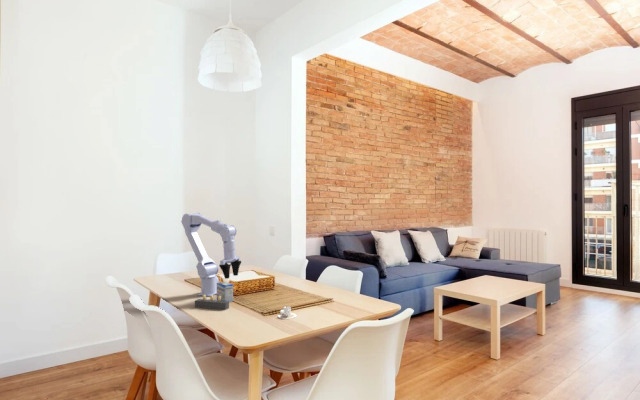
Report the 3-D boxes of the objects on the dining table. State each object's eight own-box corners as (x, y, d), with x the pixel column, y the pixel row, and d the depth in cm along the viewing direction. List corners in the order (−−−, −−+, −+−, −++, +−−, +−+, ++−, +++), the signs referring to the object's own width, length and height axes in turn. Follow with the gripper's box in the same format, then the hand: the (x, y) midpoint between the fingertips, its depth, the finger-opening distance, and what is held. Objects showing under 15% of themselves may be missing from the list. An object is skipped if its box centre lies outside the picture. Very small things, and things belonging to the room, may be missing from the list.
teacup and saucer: (279, 313, 169) (279, 304, 169) (297, 313, 168) (297, 304, 168) (276, 319, 160) (276, 310, 160) (295, 319, 160) (295, 310, 160)
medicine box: (216, 300, 189) (216, 282, 189) (224, 298, 192) (224, 281, 192) (225, 303, 184) (225, 285, 183) (233, 301, 187) (233, 283, 187)
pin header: (198, 305, 181) (198, 293, 180) (229, 307, 176) (228, 295, 176) (194, 307, 178) (194, 295, 178) (225, 309, 173) (225, 297, 173)
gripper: (227, 251, 185) (229, 279, 185) (244, 247, 199) (246, 274, 199) (215, 252, 188) (217, 279, 188) (232, 248, 201) (234, 274, 201)
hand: (231, 276), depth 193 cm, fingers open, 7 cm apart
